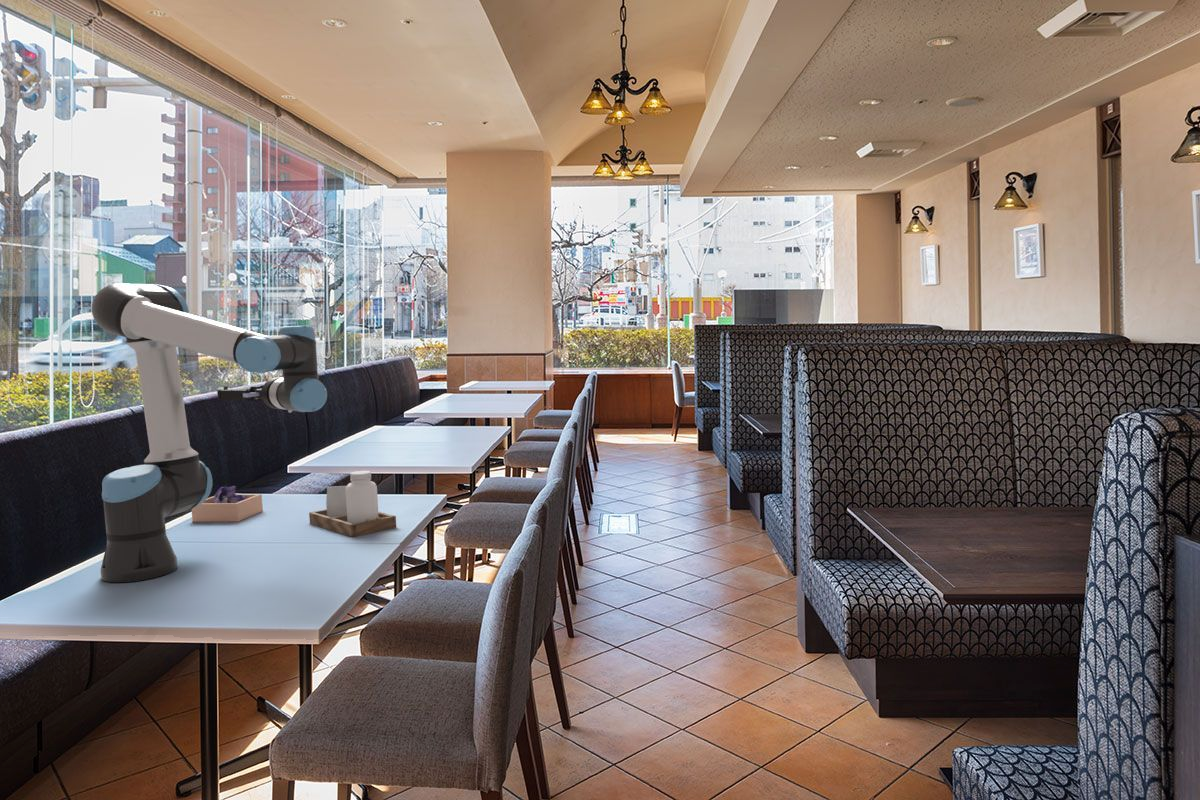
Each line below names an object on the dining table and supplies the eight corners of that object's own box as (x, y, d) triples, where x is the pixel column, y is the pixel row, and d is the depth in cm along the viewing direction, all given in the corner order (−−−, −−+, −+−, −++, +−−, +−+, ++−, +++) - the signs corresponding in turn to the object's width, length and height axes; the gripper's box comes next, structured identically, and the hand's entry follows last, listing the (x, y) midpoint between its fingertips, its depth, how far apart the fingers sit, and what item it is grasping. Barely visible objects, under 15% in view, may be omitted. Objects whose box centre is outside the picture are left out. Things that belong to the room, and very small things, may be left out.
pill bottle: (381, 529, 224) (377, 473, 222) (349, 533, 221) (345, 476, 219) (377, 523, 231) (373, 468, 230) (346, 527, 228) (342, 471, 227)
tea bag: (352, 523, 232) (350, 487, 231) (327, 524, 232) (325, 488, 231) (356, 520, 236) (353, 484, 235) (331, 521, 236) (328, 485, 235)
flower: (195, 495, 247) (224, 479, 246) (216, 501, 255) (244, 486, 253) (201, 523, 243) (230, 508, 242) (222, 529, 251) (250, 514, 249)
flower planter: (238, 521, 240) (237, 503, 240) (192, 521, 242) (191, 504, 242) (262, 510, 253) (261, 494, 253) (218, 511, 255) (217, 494, 254)
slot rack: (396, 527, 226) (395, 514, 225) (353, 537, 217) (352, 523, 217) (351, 514, 243) (350, 503, 243) (309, 523, 234) (308, 511, 234)
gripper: (230, 415, 193) (196, 410, 208) (334, 404, 210) (295, 400, 225) (228, 381, 192) (194, 379, 207) (331, 373, 209) (293, 372, 224)
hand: (247, 390), depth 216 cm, fingers open, 13 cm apart
